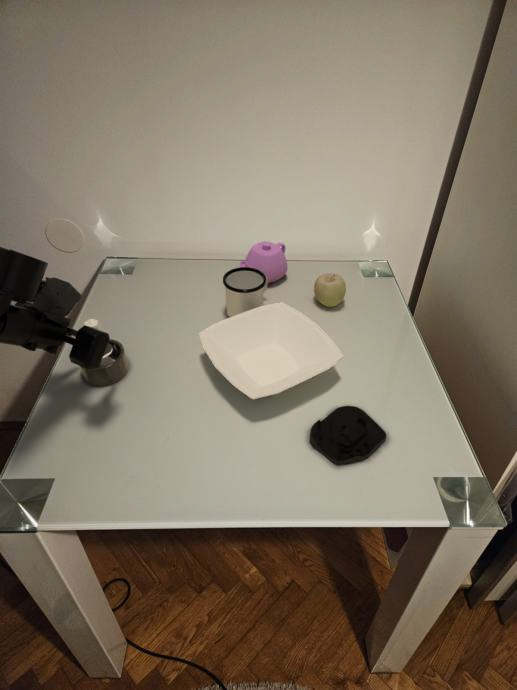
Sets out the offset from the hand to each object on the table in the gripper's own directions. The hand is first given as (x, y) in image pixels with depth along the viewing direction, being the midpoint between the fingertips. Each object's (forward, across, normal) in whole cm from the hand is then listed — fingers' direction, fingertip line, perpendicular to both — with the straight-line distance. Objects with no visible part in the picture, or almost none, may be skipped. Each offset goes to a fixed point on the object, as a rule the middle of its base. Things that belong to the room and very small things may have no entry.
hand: (91, 340), depth 79 cm
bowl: (+19, -27, -6) cm, 34 cm away
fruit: (+37, -30, -25) cm, 54 cm away
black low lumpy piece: (+12, -47, 0) cm, 48 cm away
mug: (+29, -15, -17) cm, 36 cm away
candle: (+6, 0, +5) cm, 8 cm away
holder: (+7, 0, +5) cm, 9 cm away
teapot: (+38, -11, -26) cm, 48 cm away
